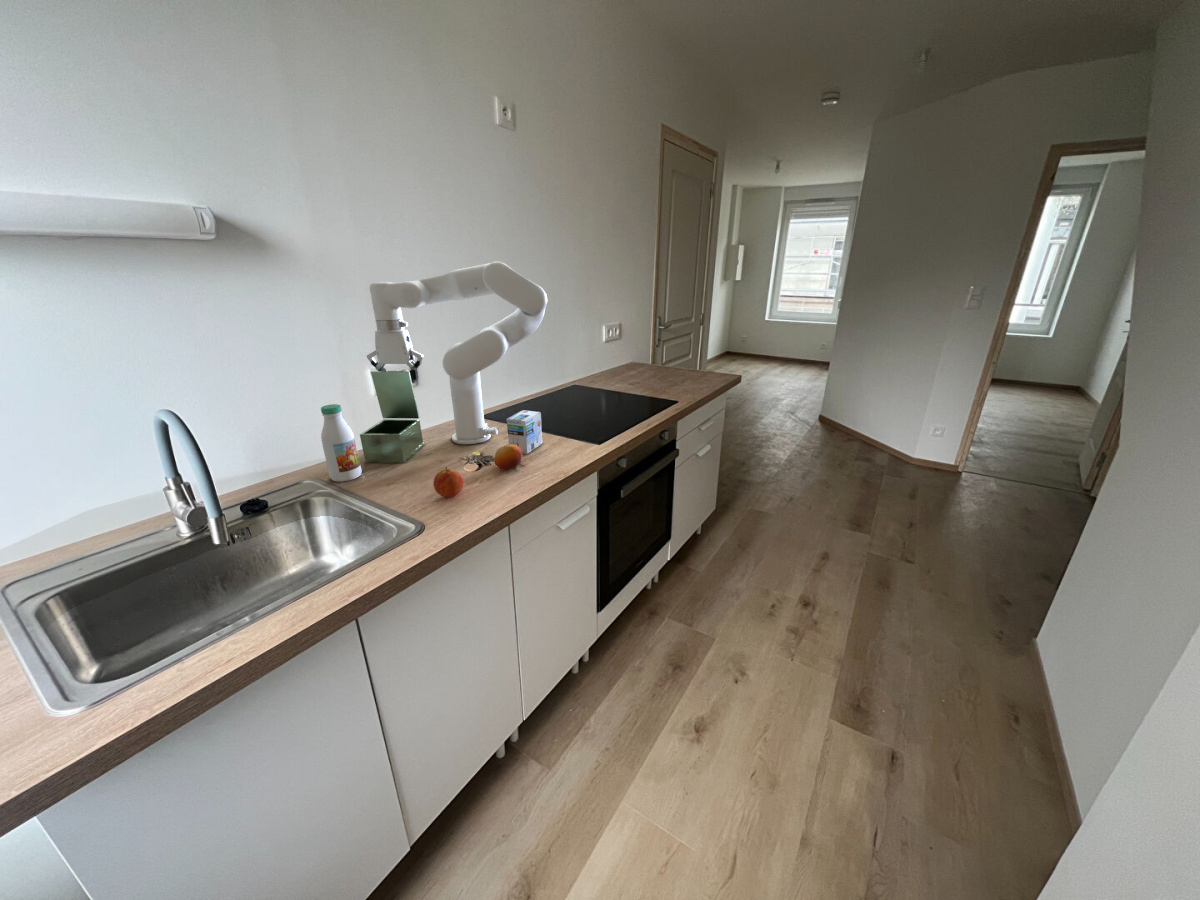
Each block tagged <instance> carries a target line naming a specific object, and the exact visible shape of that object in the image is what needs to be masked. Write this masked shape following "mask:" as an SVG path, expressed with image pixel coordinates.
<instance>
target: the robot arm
mask: <svg viewBox="0 0 1200 900" xmlns="http://www.w3.org/2000/svg"><path fill="white" fill-rule="evenodd" d="M369 292H370V298H371V305H372V310H373V315H374V321H375V326H376V327H375V328H376V330H375V331H374V346H375V349H374V350H373V351H372V352H370V353H368V354H367V355H366V358H367V360H368V361H369V362H370V365H371V366H372V367H374V368H375V370H376V371H387V369H386V368H385V366H386V365H406V366H407V367H408V368H409V369H410V370H409V372H410V376H411V381H412V384H415V383H417V382H418V381H419V374H418V369H419V367H420V366H421V365H422V363H423V360H424V357H425V355H424V354H423V353H421V352H418V351H416V350H414V348H413V347H414V346H413V343H412V339H411V336H410V334H409V330H408V329H405V328H406V327H408V326H409V323H408V321H404V319H403V312H402V308H403V309H417V308H420V307H423V306H427V305H432V304H433V305H434V304H437V303H442V302H448V301H464V300H469V299H473V298H478V297H485V296H488V295H494V294H495V295H496V296H498V297H499V298H501V299H503V300H505V302H508V303H510V304H511V305H513V306H514V307H516V309H515V311H514V312H512V313H510V314H508V315H507V316H506V317H504V318H502V319H501V320H498V321H497V322H495V323H493V324H491V325H488V326H486V327H484V328H482V329H481V330H480V331H479V332H478V333H477V334H475V335H474V336H472V337H470V338H467V339H466V340H465V341H463V342H457V343H455V344H452V345H451V346H450V347H449V348H448V350H447V351H446V352H445V353H444V355H443V357H442V368H443V370H444V372H445V373H446V374H447V375H448V376H449V377H448V378H449V387H450V397H451V405H452V412H453V419H454V427H455V428H454V429H455V433H454V434H452V436H451V441H452V442H453V443H454V444H458V445H476V444H480V443H485V442H487V441H488V440H489V439H491V436H492V435H494V436H495V435H496V436H497V435H498V434H499V431H498V428H496V426H495V427H494V426H493V427H489V426H488V423H487V422H485V415H484V405H483V404H484V403H483V394H482V384H481V383H482V382H481V371H483V370H485V369H486V368H489V367H490V366H492V365H494V364H495V363H497V362H498V361H500V360H501V359H502V358H503V357H504V356H505V355H506V353H507V350H509V349H510V348H512V347H514V346H516V345H517V344H519V343H520V342H522V341H524V340H525V339H527V338H528V337H530V336H531V335H533V334H534V333H535V332H536V331H537V330H538V329H539V327H540V325H541V324H542V322H543V320H544V316H545V314H546V313H545V311H546V307H547V304H548V296H547V293H546V291H545V290H544V289H543V287H541V286H540V285H539V284H537V283H535V282H533V281H531V280H530V279H528V277H525V276H523V275H522V274H520V273H519V272H517V271H516V270H514V269H513V268H511V267H510V266H509V265H507V264H506V263H504V262H502V261H499V260H498V261H497V260H495V261H492V262H489V263H483V264H478V265H473V266H468V267H463V268H458V269H454V270H451V271H449V272H447V273H444V274H441V275H436V276H432V277H427V278H422V279H417V280H408V281H401V282H392V281H375V282H371V283H370V284H369ZM375 357H376V359H377V360H376V359H375ZM415 359H416V361H415Z"/></svg>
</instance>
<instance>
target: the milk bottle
mask: <svg viewBox="0 0 1200 900" xmlns="http://www.w3.org/2000/svg"><path fill="white" fill-rule="evenodd" d="M320 411H321V414H322V415H321V416H322V417H323V425H322V429H321V435H320V440H321V445H322V448H323V454H324V457H325V462H326V466H327V471H328V474H329V478H330V479H331V480H332V481H333V482H347V481H348V482H349V481H352V480H354V479H356V478H359V477H360V476H361V475H362V473H363V471H362V467H361V466H362V465H361V461H360V456H359V450H358V447H357V442H356V439H355V435H354V432H353V430H352V428H351V427H350V426H349V425H348V423H347V422H346V420H345V419H344V417H343V409H342V406H341V405H340V404H338V403H337V404H336V403H333V404H326V405H323V406H321V407H320Z"/></svg>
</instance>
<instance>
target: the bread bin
mask: <svg viewBox="0 0 1200 900" xmlns="http://www.w3.org/2000/svg"><path fill="white" fill-rule="evenodd" d="M359 438H360V443H361V448H362V451H363V456H364V462H365V463H366V464H367V463H371V464H372V463H373V464H376V463H380V464H381V463H383V464H388V463H389V464H391V463H392V464H400V463H401V464H405V463H406V462H407V461H408V460H409V459H411V457H412V456H414V455H415V454H416V453H417V452H418V451H419V450H420V449H421V448H422V447H424V440H423V439H424V438H423V432H422V427H421V420H420V418H419V419H400V418H382V419H381V420H380V421H378V422H377V423H375V424H374V425H372V426H370V427H369V428H367V429H366V430H364V431H362V432H361V433H360V434H359Z"/></svg>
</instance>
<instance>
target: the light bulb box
mask: <svg viewBox="0 0 1200 900" xmlns="http://www.w3.org/2000/svg"><path fill="white" fill-rule="evenodd" d="M506 427H507V437H508V438H507V441H508V444H515V445H517V446H518V447H520V449H521V451H522V454H525V455H528V454H529V453H531V452H533V451H534V450H535V449H536V448H539V446H541V445H543V432H542V413H541V411H534V410H533V411H532V410H524V409H523V410H520V411H518V412H517V413H515V414H513V415H512V416H509V417H508V418H506Z"/></svg>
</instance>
